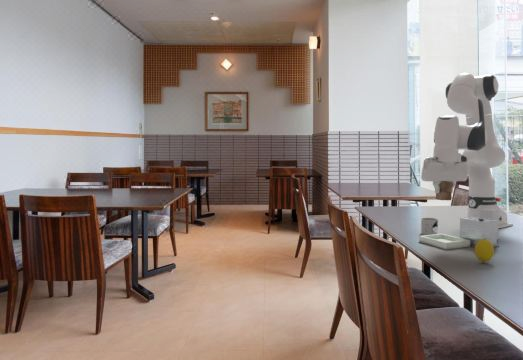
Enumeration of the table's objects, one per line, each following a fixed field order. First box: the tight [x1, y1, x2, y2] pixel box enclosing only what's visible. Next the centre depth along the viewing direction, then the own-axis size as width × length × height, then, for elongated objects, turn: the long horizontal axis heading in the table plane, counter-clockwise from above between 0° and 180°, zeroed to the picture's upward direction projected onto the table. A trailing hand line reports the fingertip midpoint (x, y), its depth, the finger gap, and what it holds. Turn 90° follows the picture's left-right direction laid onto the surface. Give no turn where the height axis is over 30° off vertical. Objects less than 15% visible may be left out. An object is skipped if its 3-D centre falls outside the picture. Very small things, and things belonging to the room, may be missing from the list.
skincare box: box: [479, 209, 500, 240], centre depth 174 cm, size 6×4×12 cm
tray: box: [418, 233, 471, 250], centre depth 165 cm, size 12×14×2 cm
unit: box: [459, 216, 500, 248], centre depth 163 cm, size 9×11×11 cm
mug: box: [420, 217, 439, 236], centre depth 186 cm, size 10×7×7 cm, turn 147°
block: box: [435, 181, 452, 201], centre depth 164 cm, size 4×4×7 cm
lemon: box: [474, 239, 495, 264], centre depth 137 cm, size 6×6×8 cm
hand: (443, 192), depth 164 cm, fingers closed on block, 4 cm apart
